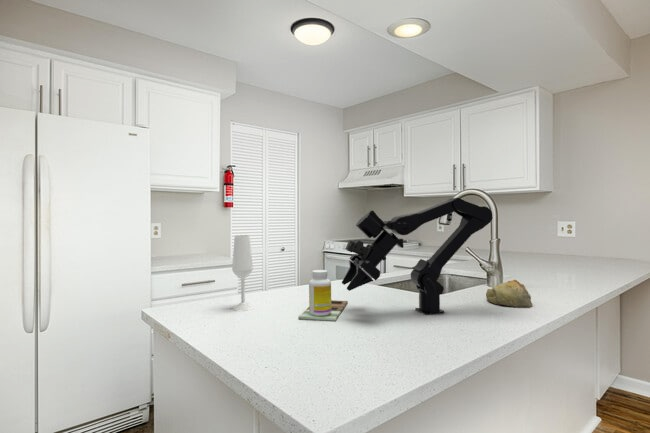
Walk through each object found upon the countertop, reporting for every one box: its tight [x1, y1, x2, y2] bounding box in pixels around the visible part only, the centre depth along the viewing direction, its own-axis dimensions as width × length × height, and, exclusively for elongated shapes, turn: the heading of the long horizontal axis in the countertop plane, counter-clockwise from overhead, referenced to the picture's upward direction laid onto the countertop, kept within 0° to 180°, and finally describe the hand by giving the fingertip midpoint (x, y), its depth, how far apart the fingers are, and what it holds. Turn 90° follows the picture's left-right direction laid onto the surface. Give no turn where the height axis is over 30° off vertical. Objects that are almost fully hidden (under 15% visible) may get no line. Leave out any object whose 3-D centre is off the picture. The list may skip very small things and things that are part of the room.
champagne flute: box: [231, 234, 254, 312], centre depth 122 cm, size 7×7×24 cm
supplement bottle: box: [308, 269, 332, 316], centre depth 111 cm, size 7×7×13 cm
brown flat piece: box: [298, 299, 349, 322], centre depth 117 cm, size 22×11×1 cm, turn 167°
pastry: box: [485, 279, 533, 308], centre depth 123 cm, size 14×12×8 cm
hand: (345, 286), depth 111 cm, fingers open, 9 cm apart
